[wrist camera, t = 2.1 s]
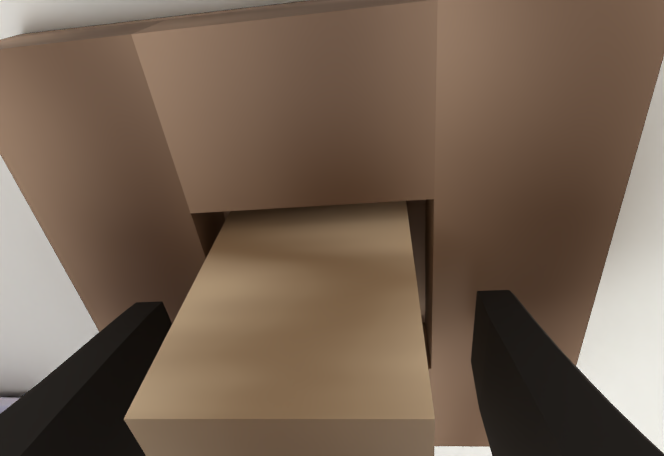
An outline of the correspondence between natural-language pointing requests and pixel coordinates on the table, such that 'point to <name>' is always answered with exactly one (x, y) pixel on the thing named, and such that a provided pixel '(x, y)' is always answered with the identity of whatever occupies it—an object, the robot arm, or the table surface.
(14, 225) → the table surface
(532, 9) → the pocket block
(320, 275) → the birch peg
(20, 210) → the table surface
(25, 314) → the table surface
